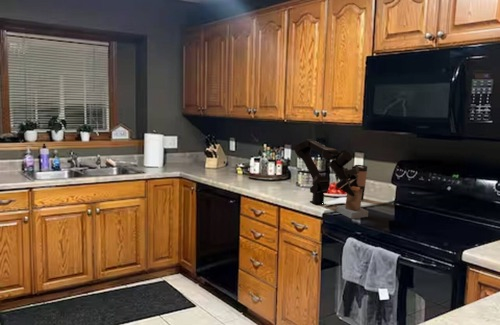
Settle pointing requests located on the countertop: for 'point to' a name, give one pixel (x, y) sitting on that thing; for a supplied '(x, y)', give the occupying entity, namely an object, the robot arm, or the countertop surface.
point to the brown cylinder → (354, 200)
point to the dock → (352, 212)
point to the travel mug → (362, 178)
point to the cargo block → (355, 188)
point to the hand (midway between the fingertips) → (357, 194)
